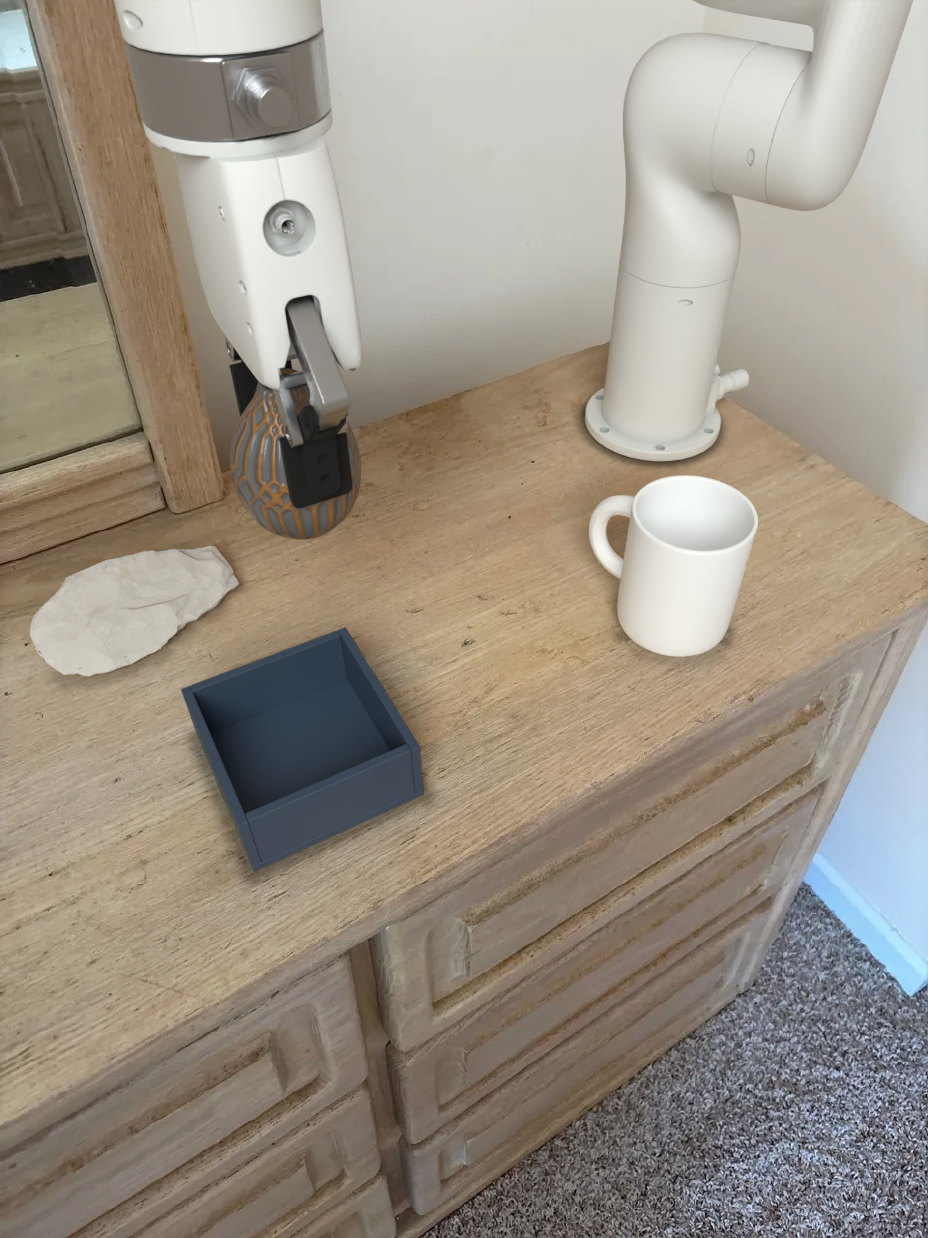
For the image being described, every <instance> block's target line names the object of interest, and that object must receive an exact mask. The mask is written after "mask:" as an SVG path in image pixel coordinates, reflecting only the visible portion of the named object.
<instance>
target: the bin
mask: <svg viewBox="0 0 928 1238" xmlns="http://www.w3.org/2000/svg"><path fill="white" fill-rule="evenodd" d="M180 692H181V695H182V697H183V700H184V702H185V706H186V708H187V711H188V714H189V716H190V719H191V722H192V725H193V728H194V729H195V733H196V736H197V738H198V741H199V743H200V746H201V748H202V751H203V753H204V755H205V758H206V761H207V763H208V765H209V768H210V770H211V772H212V775H213V777H214V779H215V782H216V785H217V788H218V789H219V792H220V794H221V798H223V801H224V804H225V807H226V809H227V811H228V813H229V816H230V818H231V821H232V823H233V825H234V828H235V830H236V833H237V835H238V837H239V840H240V843H241V845H242V848H243V849H244V852H245V854H246V857H247V859H248V862H249V865H250V866H251V869H252V871H253V873H254V872H257V871H260V870H261V869H264V868H266V867H269V866H271V865H273V864H275V863H277V862H279V861H281V860H283V859H286V858H288V857H291V856H293V855H295V854H296V853H299V852H301V851H303V850H306V849H309V848H310V847H312V846H314V845H316V844H319V843H321V842H323V841H325V840H328V839H330V838H332V837H333V836H334V837H335V836H336V835H338V834H340V833H343V832H346V831H347V830H349V829H351V828H354V827H357V826H359V825H360V824H362V823H364V822H367V821H370V820H371V819H373V818H376V817H378V816H381V815H383V814H384V813H387V812H389V811H392V810H393V809H395V808H397V807H401V806H402V805H404V804H406V803H409V802H410V801H413V800H416V799H418V798H419V797H422V796H424V793H425V792H424V783H423V782H424V781H423V770H422V769H423V768H422V767H423V766H422V755H421V745H420V743H419V742H418V741H417V739H416V737H415V736H414V734H413V733H412V731H411V730H410V728H409V726H408V725H407V722H406V721H405V719H404V718H403V716H402V715H401V713H400V711H399V710H398V709H397V707H396V705H395V704H394V702H393V700H392V698H390V696H389V694H388V693H387V691H386V689H385V687H384V686H383V685H382V683H381V681H380V680H379V678H378V676H377V675H376V673H375V671H374V669H373V668H372V667H371V665H370V664H369V662H368V660H367V659H366V657H365V656H364V654H363V652H362V651H361V649H360V648H359V646H358V644H357V643H356V641H355V640H354V638H353V637H352V635H351V633H350V632H349V630H348V629H347V627H341V628H339V629H337V630H333V631H331V632H328V633H325V634H322V635H320V636H318V637H315V638H312V639H309V640H307V641H305V642H302V643H299V644H297V645H293V646H291V647H289V648H286V649H282V650H280V651H278V652H275V653H272V654H270V655H267V656H264V657H262V658H259V659H256V660H254V661H251V662H248V663H246V664H243V665H240V666H237V667H235V668H233V669H232V668H231V669H230V670H227V671H225V672H223V673H219V674H216V675H214V676H211V677H209V678H206V679H204V680H200V681H198V682H196V683H193V684H190V685H188V686H185V687H182V688H181V689H180Z"/></svg>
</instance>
